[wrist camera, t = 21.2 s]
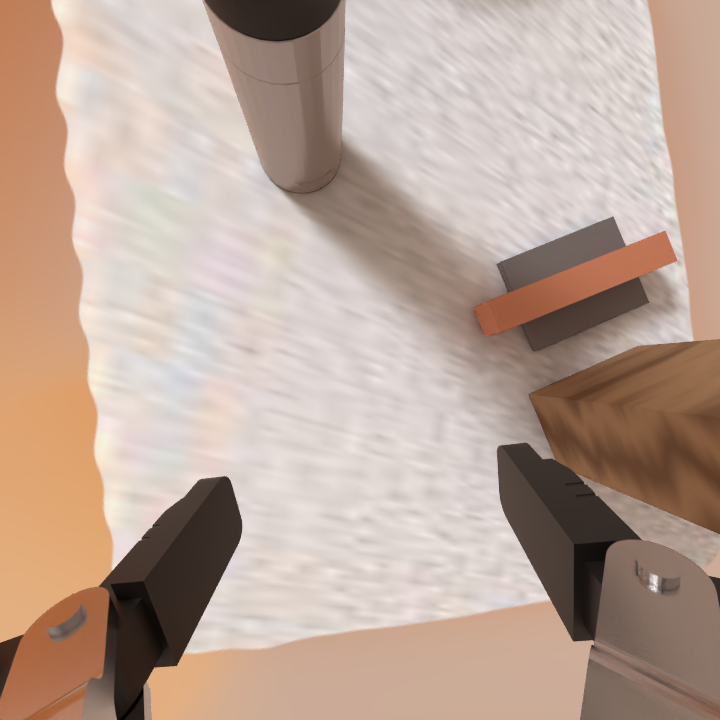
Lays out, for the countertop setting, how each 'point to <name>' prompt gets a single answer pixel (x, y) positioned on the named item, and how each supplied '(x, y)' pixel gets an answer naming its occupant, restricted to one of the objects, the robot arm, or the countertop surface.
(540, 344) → the mat
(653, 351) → the post
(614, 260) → the rail
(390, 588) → the countertop surface
